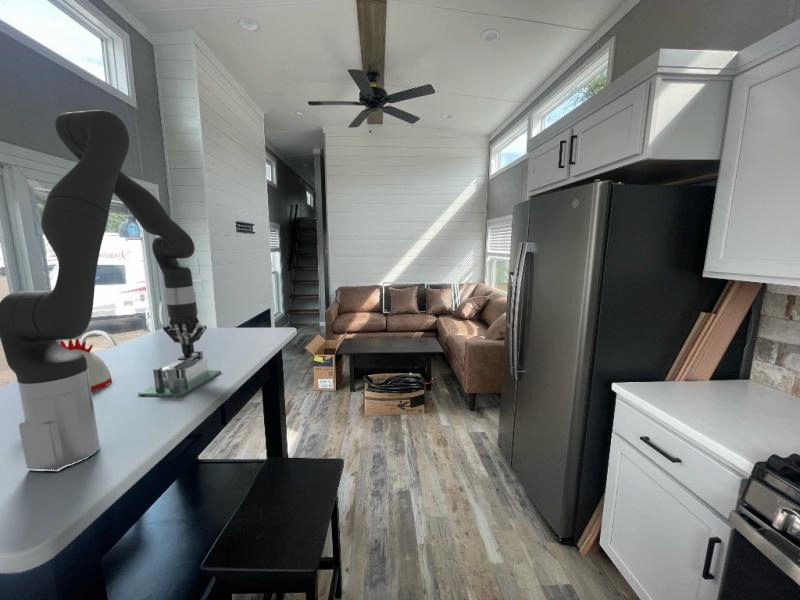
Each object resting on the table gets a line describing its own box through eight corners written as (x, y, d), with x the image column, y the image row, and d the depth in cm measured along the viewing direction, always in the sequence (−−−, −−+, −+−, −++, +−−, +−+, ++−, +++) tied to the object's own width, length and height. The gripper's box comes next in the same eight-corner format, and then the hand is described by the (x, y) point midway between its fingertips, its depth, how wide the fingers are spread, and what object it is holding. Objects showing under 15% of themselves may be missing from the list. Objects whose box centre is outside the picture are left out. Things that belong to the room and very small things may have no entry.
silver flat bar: (168, 373, 93) (167, 369, 92) (158, 373, 93) (158, 369, 93) (199, 355, 106) (198, 351, 105) (190, 355, 106) (190, 351, 106)
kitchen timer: (60, 383, 101) (52, 336, 99) (117, 375, 107) (111, 331, 105) (37, 401, 89) (27, 348, 87) (103, 391, 95) (95, 341, 93)
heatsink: (182, 396, 91) (179, 370, 90) (138, 395, 92) (134, 369, 91) (221, 372, 109) (219, 350, 108) (183, 372, 110) (181, 349, 109)
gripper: (150, 303, 96) (159, 359, 100) (193, 303, 95) (201, 359, 99) (169, 298, 104) (177, 350, 107) (210, 298, 103) (216, 351, 106)
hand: (188, 354), depth 103 cm, fingers closed
